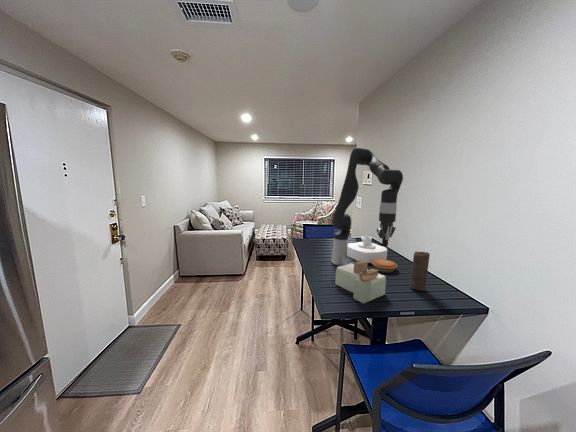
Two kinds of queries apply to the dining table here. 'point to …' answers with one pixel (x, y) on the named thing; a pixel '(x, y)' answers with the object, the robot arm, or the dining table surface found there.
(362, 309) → the dining table surface
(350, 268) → the lid
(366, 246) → the white knobbed disc
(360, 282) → the light green open box
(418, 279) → the candle
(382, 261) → the pie
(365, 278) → the tan tapered bar
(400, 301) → the dining table surface
